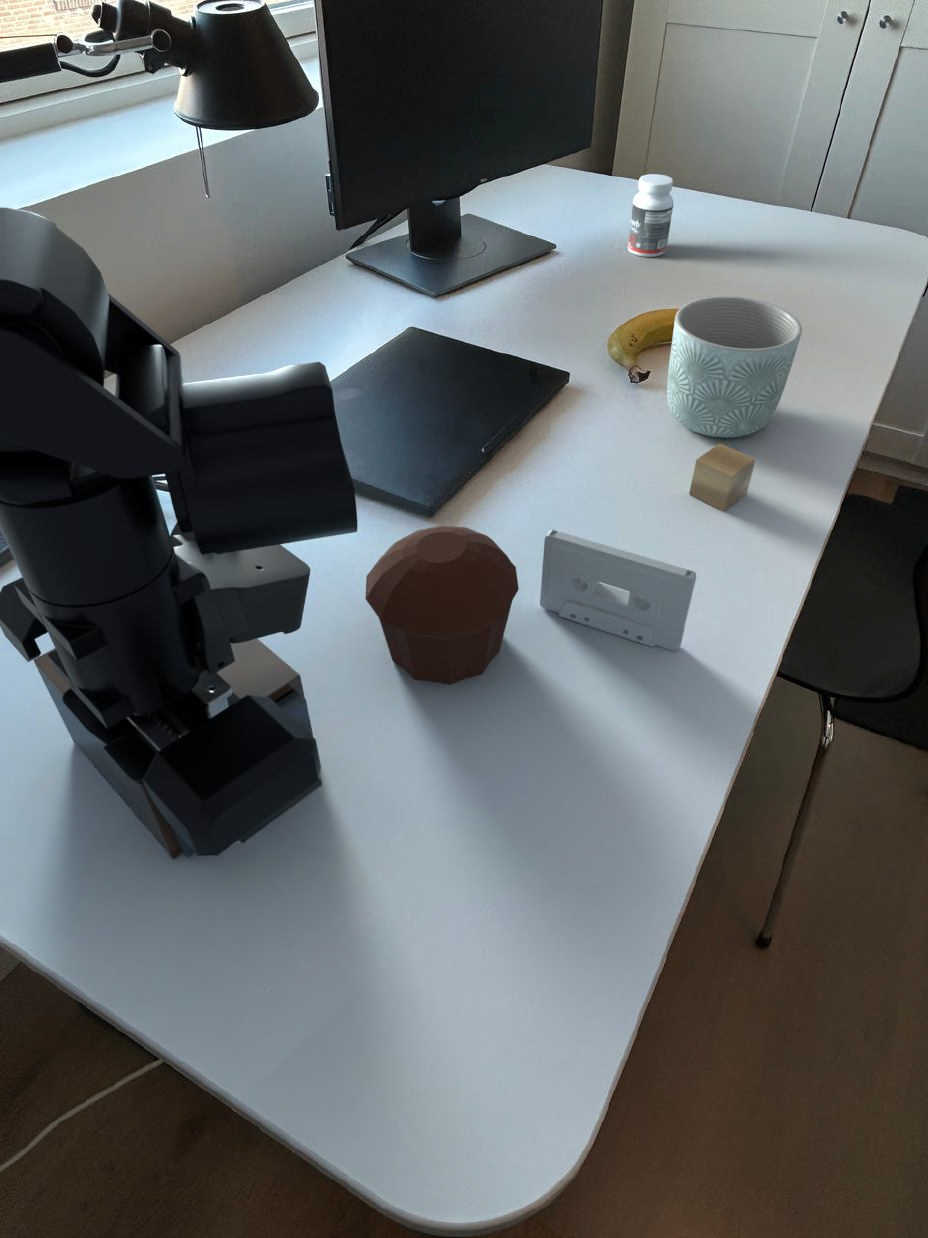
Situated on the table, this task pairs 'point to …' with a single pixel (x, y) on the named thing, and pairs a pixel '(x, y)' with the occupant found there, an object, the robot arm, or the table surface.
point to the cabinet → (246, 675)
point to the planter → (729, 364)
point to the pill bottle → (651, 216)
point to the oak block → (721, 476)
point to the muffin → (443, 601)
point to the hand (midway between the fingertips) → (186, 790)
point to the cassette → (616, 590)
